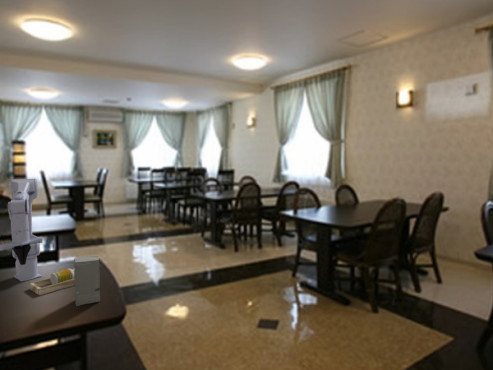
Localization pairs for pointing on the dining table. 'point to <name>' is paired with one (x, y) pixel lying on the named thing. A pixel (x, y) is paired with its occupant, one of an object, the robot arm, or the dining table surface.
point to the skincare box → (87, 280)
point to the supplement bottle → (62, 276)
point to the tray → (40, 291)
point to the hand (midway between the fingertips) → (22, 264)
